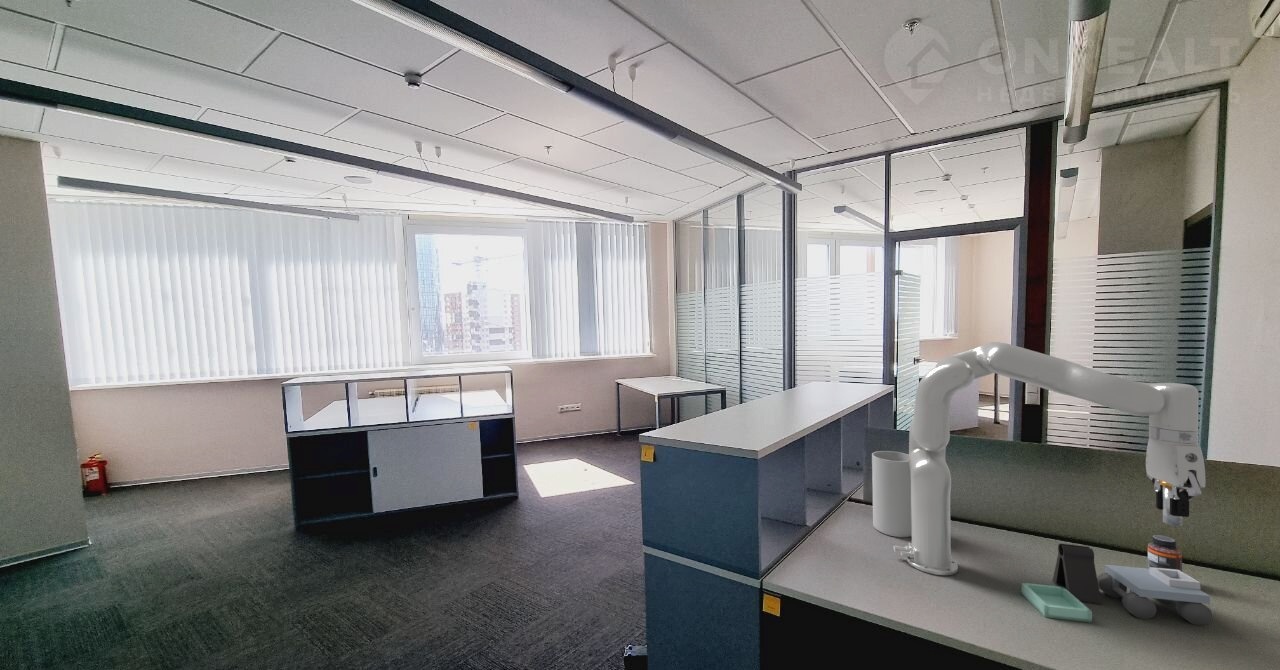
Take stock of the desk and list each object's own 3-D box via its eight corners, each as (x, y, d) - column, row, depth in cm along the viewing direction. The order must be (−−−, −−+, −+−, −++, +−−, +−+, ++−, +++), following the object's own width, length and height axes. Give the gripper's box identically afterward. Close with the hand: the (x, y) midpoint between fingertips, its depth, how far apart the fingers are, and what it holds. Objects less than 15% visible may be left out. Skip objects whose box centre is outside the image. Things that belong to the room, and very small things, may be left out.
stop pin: (1169, 526, 106) (1169, 483, 105) (1154, 519, 109) (1154, 478, 109) (1191, 527, 104) (1191, 485, 104) (1175, 520, 108) (1175, 479, 108)
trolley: (1213, 627, 101) (1212, 589, 101) (1129, 617, 105) (1129, 581, 105) (1170, 598, 112) (1169, 564, 112) (1095, 590, 116) (1095, 557, 115)
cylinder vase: (907, 523, 157) (906, 451, 157) (921, 539, 145) (920, 462, 144) (868, 520, 160) (867, 450, 159) (879, 536, 148) (877, 460, 147)
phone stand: (1102, 605, 110) (1101, 556, 110) (1070, 600, 112) (1070, 552, 112) (1081, 585, 118) (1081, 539, 118) (1052, 581, 120) (1052, 536, 120)
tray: (1045, 617, 106) (1044, 606, 106) (1021, 592, 116) (1021, 582, 115) (1091, 622, 104) (1091, 611, 103) (1063, 597, 113) (1063, 587, 113)
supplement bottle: (1173, 577, 121) (1173, 535, 121) (1188, 589, 115) (1188, 545, 115) (1142, 572, 123) (1142, 531, 123) (1156, 583, 118) (1155, 541, 118)
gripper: (1228, 445, 98) (1227, 529, 98) (1163, 428, 113) (1162, 501, 114) (1184, 443, 100) (1183, 526, 100) (1126, 427, 115) (1125, 498, 116)
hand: (1172, 511), depth 107 cm, fingers closed on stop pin, 3 cm apart
